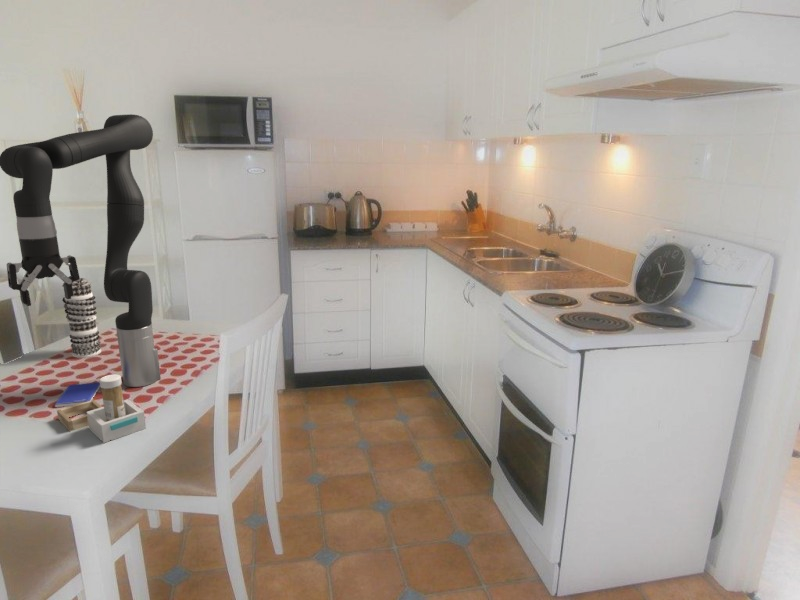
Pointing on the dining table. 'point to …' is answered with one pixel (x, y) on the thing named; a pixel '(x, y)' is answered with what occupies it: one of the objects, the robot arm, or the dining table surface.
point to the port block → (116, 422)
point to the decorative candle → (82, 320)
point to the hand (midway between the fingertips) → (48, 301)
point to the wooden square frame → (75, 410)
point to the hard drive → (78, 394)
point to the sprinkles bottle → (112, 397)
